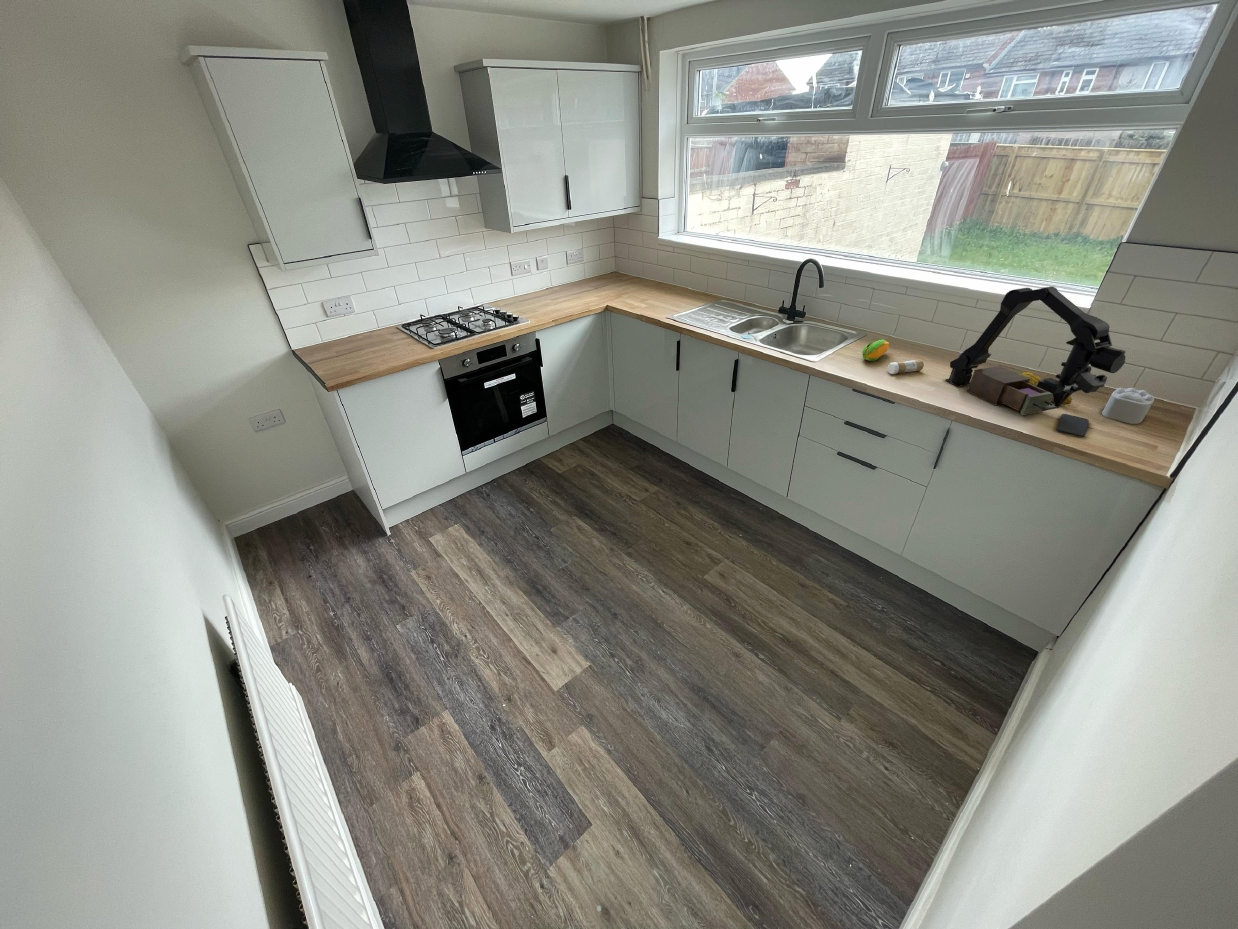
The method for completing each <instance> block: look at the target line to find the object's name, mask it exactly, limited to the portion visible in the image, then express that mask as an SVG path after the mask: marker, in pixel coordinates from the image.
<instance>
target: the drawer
mask: <svg viewBox="0 0 1238 929" xmlns="http://www.w3.org/2000/svg"><path fill="white" fill-rule="evenodd" d="M1026 388H1029V389H1032V390H1034V391H1036V392H1038V393H1040V394H1034V395H1029V396H1027V394H1026V393H1024V392H1022V391H1020V389H1026ZM1026 396H1027V399H1026V401H1025V398H1026ZM1052 398H1053V393H1050V392H1046V391H1045V390H1043V389H1041V388H1038V387H1037V386H1034V385H1032V384H1030V383H1027V382H1019V383H1013V384H1007V385H1005V387H1004V389H1003V392H1002V394H1001V397H1000V399H999V402H1001V403H1003V404H1002V405H1006V406H1007V407H1010V408H1012V409H1014V410H1016V411H1018V412H1020V415H1022V416H1025V415H1031V414H1037V413H1042V412H1047V411H1050V410H1056V409H1059V408H1060V406H1059V407H1056V406H1055V405H1054V403H1053V402H1052V401H1051V400H1052ZM1024 401H1025V403H1024ZM1023 403H1024V406H1023V407H1022V405H1023Z"/></svg>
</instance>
